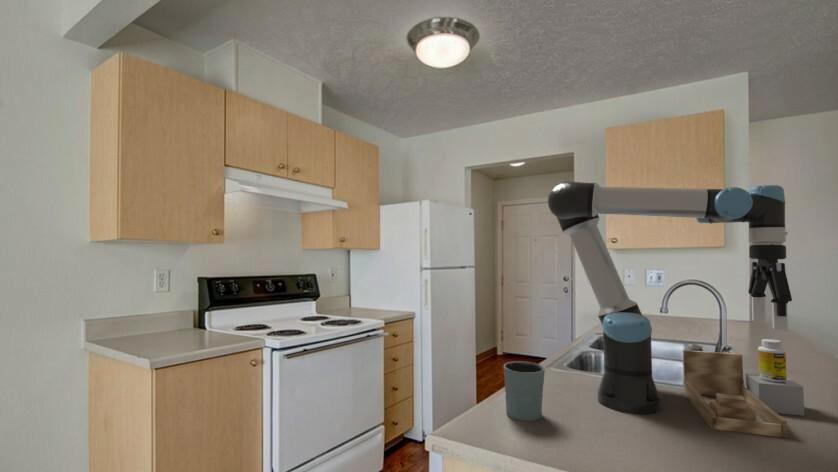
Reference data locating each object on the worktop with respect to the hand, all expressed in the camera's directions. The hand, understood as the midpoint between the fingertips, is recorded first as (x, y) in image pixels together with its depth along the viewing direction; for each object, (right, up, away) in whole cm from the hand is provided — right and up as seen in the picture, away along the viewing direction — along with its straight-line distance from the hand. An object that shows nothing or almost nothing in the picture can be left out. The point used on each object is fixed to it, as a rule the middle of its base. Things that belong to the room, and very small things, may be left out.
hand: (768, 325), depth 110 cm
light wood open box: (-14, -21, -4) cm, 25 cm away
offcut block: (-19, -16, -12) cm, 28 cm away
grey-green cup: (-66, -22, -5) cm, 69 cm away
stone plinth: (0, -21, -1) cm, 21 cm away
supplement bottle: (0, -14, -1) cm, 14 cm away
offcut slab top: (-19, -19, -12) cm, 29 cm away
